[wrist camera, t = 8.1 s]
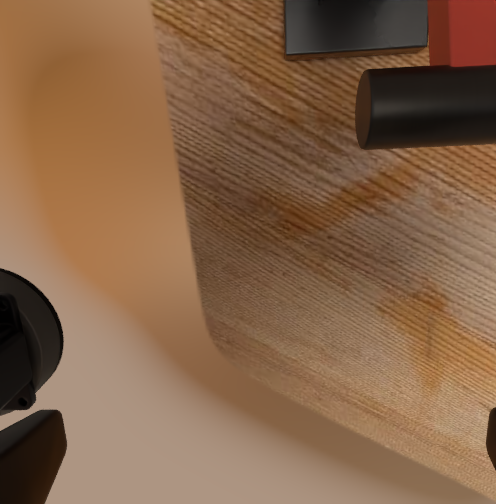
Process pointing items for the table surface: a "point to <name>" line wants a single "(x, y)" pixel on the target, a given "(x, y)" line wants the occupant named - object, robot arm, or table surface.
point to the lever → (436, 85)
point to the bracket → (353, 28)
